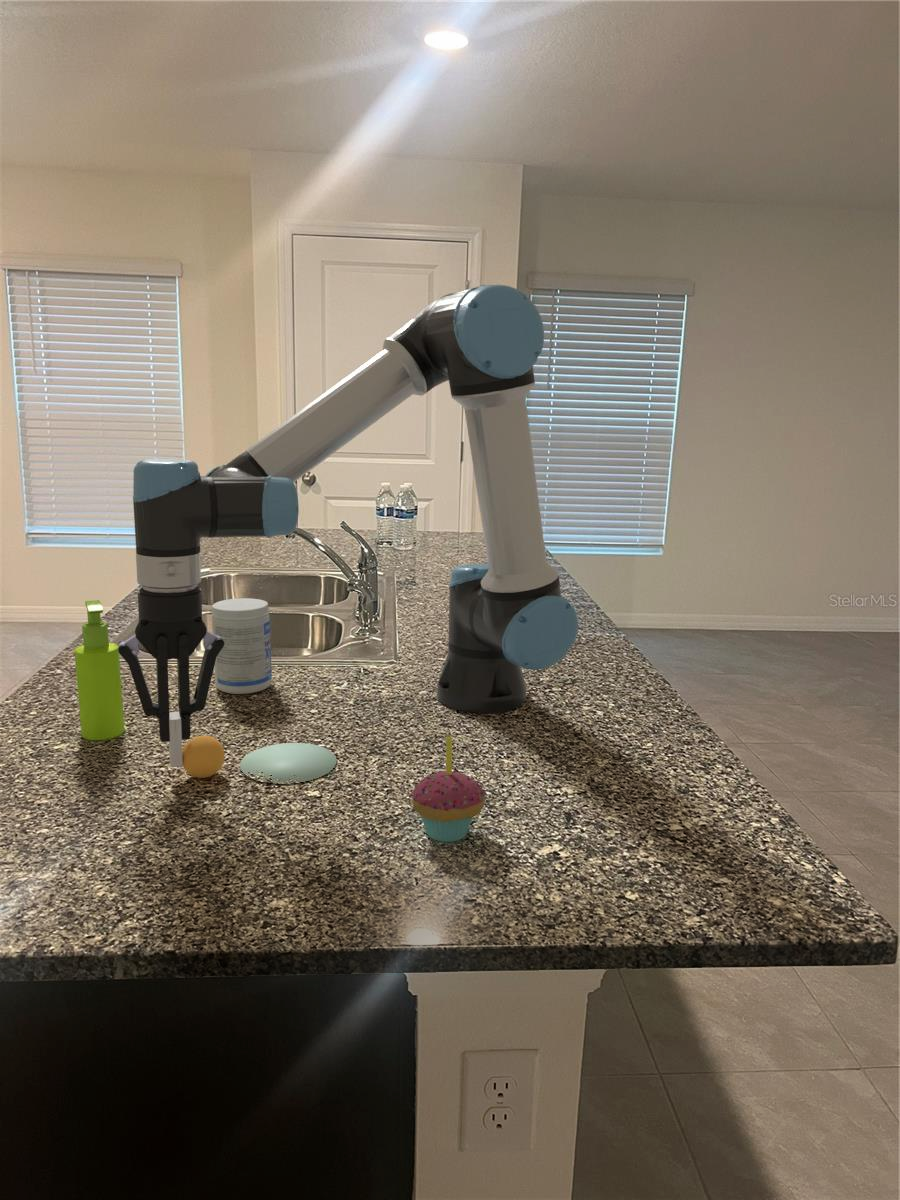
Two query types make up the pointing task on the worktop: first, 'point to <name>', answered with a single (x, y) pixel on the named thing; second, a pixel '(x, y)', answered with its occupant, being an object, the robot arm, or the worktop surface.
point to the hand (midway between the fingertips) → (176, 762)
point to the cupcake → (448, 801)
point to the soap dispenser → (98, 679)
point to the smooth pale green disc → (289, 762)
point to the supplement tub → (242, 645)
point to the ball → (203, 756)
